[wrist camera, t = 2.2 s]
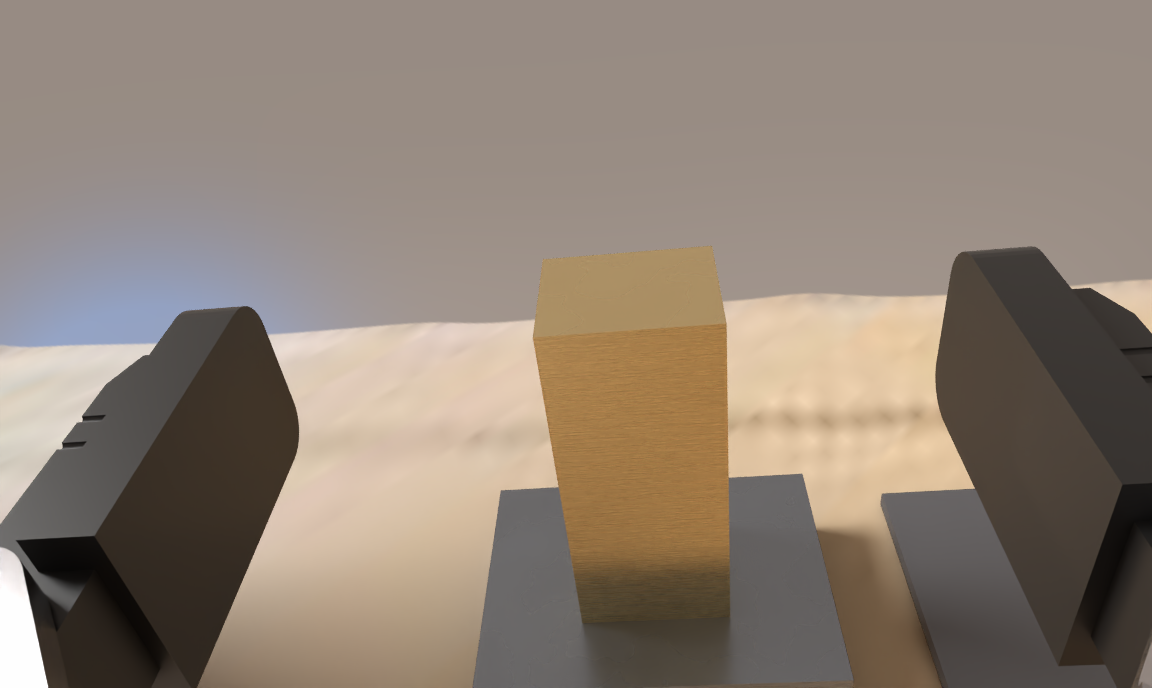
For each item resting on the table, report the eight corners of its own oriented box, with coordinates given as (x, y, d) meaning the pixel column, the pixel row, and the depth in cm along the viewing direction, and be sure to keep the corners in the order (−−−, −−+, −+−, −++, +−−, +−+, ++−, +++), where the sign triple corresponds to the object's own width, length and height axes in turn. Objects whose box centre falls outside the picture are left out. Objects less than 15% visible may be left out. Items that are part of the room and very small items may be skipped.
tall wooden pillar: (582, 622, 30) (533, 337, 23) (585, 533, 33) (542, 259, 26) (730, 616, 29) (726, 323, 22) (718, 526, 32) (711, 245, 25)
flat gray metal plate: (967, 760, 27) (970, 750, 27) (880, 503, 36) (881, 493, 36) (1342, 750, 26) (1349, 740, 26) (1158, 489, 35) (1162, 478, 35)
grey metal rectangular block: (487, 743, 30) (471, 692, 28) (512, 540, 37) (500, 490, 35) (847, 733, 29) (854, 680, 27) (799, 526, 36) (802, 473, 34)
